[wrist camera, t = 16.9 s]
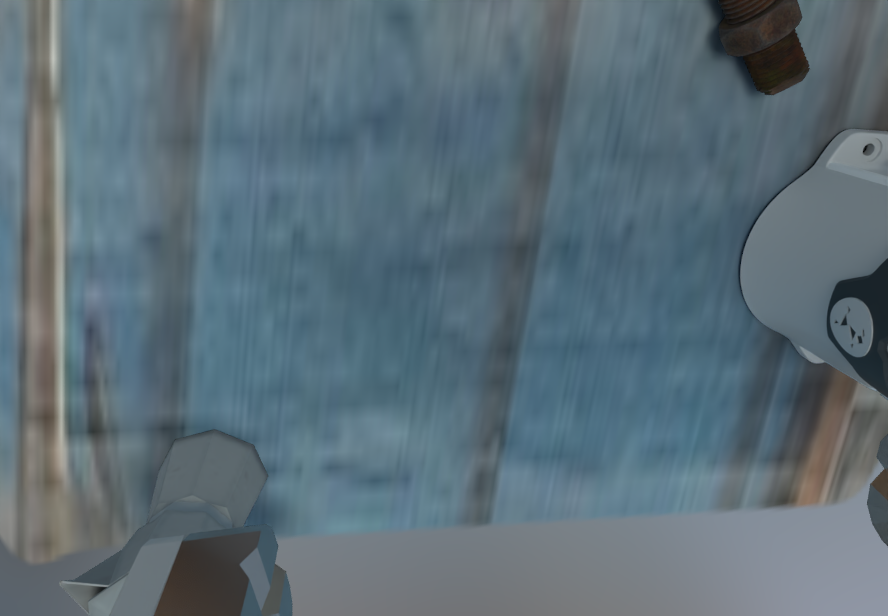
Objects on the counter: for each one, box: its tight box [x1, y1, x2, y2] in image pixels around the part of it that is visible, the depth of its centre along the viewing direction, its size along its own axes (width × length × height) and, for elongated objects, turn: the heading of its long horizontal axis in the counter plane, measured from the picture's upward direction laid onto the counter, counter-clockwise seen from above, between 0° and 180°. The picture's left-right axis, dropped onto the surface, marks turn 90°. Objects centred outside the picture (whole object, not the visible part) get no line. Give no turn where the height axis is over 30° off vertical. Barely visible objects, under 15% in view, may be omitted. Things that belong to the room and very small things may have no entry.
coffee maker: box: [59, 430, 268, 616], centre depth 45 cm, size 15×9×18 cm, turn 59°
